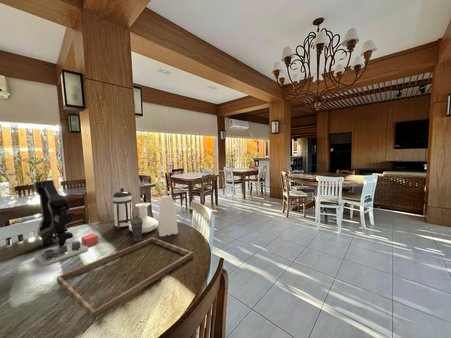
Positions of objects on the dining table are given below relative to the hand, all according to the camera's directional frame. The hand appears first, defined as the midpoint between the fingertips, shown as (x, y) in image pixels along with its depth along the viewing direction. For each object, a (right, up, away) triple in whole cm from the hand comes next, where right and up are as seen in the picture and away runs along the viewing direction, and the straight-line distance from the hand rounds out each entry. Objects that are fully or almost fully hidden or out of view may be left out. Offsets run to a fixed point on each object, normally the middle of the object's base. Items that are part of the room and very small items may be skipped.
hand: (61, 248), depth 109 cm
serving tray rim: (+47, -4, -15) cm, 49 cm away
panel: (+2, -3, -1) cm, 4 cm away
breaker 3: (+6, -1, +3) cm, 7 cm away
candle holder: (+33, -1, +34) cm, 47 cm away
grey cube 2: (+2, -1, -1) cm, 3 cm away
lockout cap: (+8, -2, +13) cm, 15 cm away
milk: (+51, -1, +29) cm, 59 cm away
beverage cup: (+35, -2, +18) cm, 39 cm away
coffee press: (+15, 0, +41) cm, 43 cm away
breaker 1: (-1, -2, -7) cm, 7 cm away
